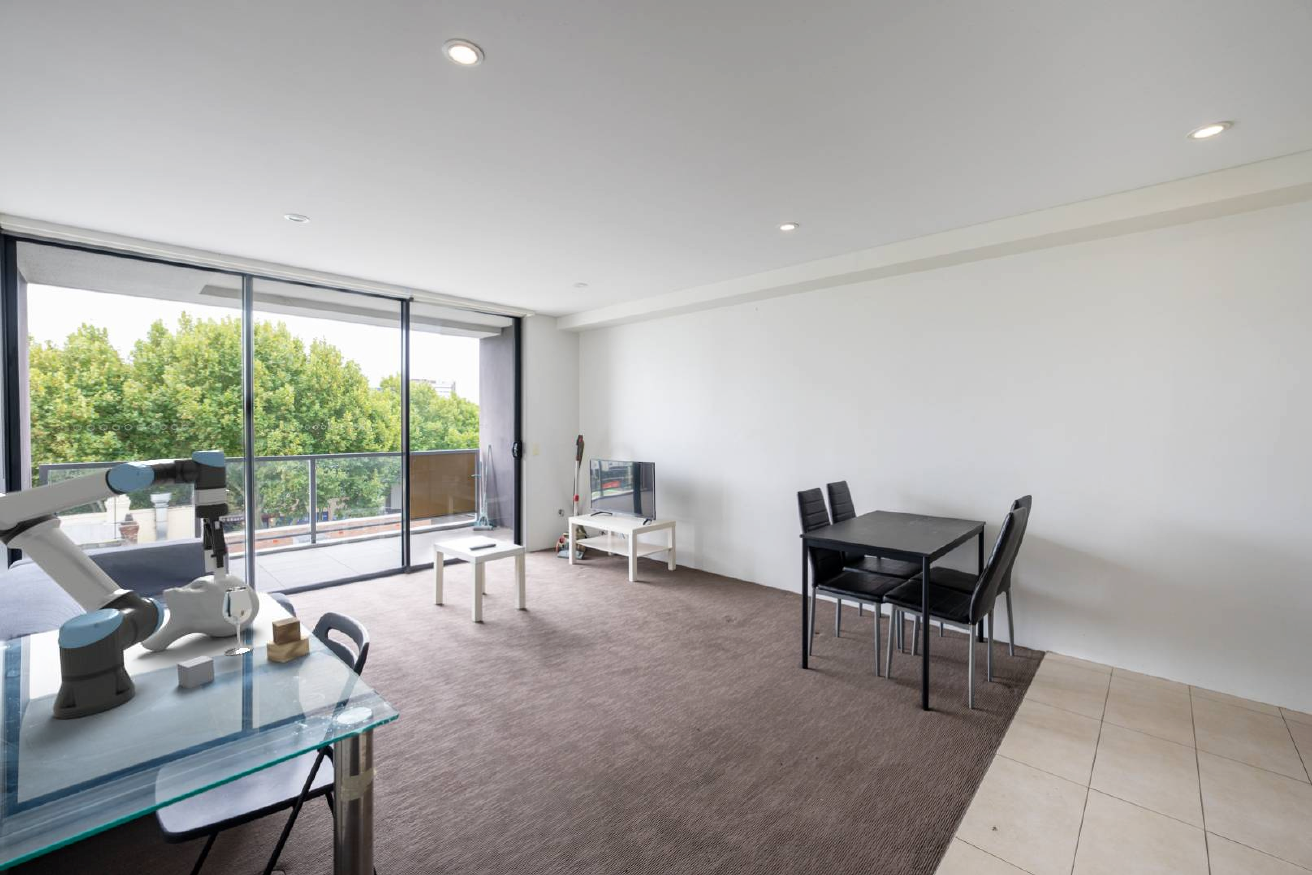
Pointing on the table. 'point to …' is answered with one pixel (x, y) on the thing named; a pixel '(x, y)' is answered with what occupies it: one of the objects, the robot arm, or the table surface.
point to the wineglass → (237, 614)
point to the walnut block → (286, 631)
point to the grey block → (195, 671)
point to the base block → (287, 650)
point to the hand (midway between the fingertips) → (215, 575)
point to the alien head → (199, 611)
